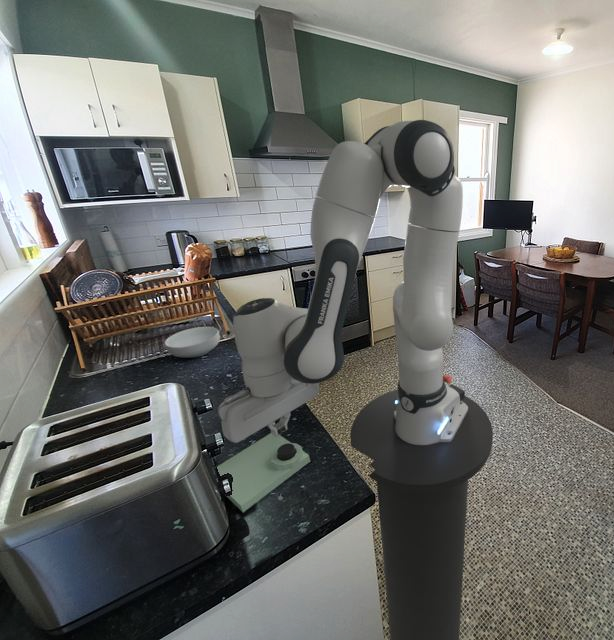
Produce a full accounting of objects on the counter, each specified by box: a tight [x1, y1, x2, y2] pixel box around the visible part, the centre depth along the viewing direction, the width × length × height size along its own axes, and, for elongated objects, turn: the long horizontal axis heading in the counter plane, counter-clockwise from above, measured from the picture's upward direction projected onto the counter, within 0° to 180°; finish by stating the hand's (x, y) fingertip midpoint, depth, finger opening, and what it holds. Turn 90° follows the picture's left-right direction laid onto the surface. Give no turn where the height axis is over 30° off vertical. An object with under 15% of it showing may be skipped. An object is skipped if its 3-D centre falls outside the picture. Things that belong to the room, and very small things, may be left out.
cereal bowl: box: [164, 326, 221, 359], centre depth 127 cm, size 17×17×7 cm
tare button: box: [277, 442, 295, 461], centre depth 77 cm, size 4×4×2 cm
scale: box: [216, 432, 311, 513], centre depth 77 cm, size 16×14×4 cm
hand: (279, 432), depth 75 cm, fingers closed
